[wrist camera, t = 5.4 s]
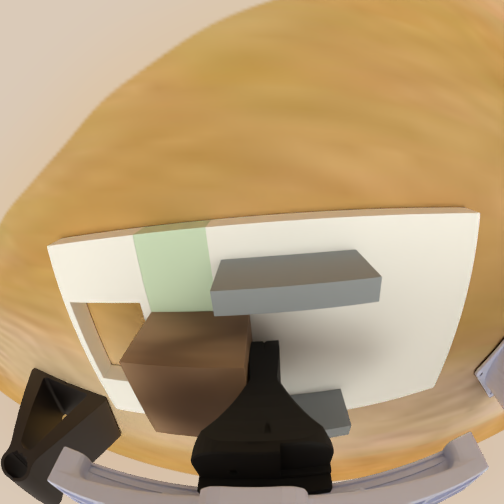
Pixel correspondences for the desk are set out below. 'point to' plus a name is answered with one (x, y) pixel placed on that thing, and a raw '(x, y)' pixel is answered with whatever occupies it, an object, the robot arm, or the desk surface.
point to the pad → (175, 266)
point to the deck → (306, 297)
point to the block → (188, 368)
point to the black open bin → (55, 432)
